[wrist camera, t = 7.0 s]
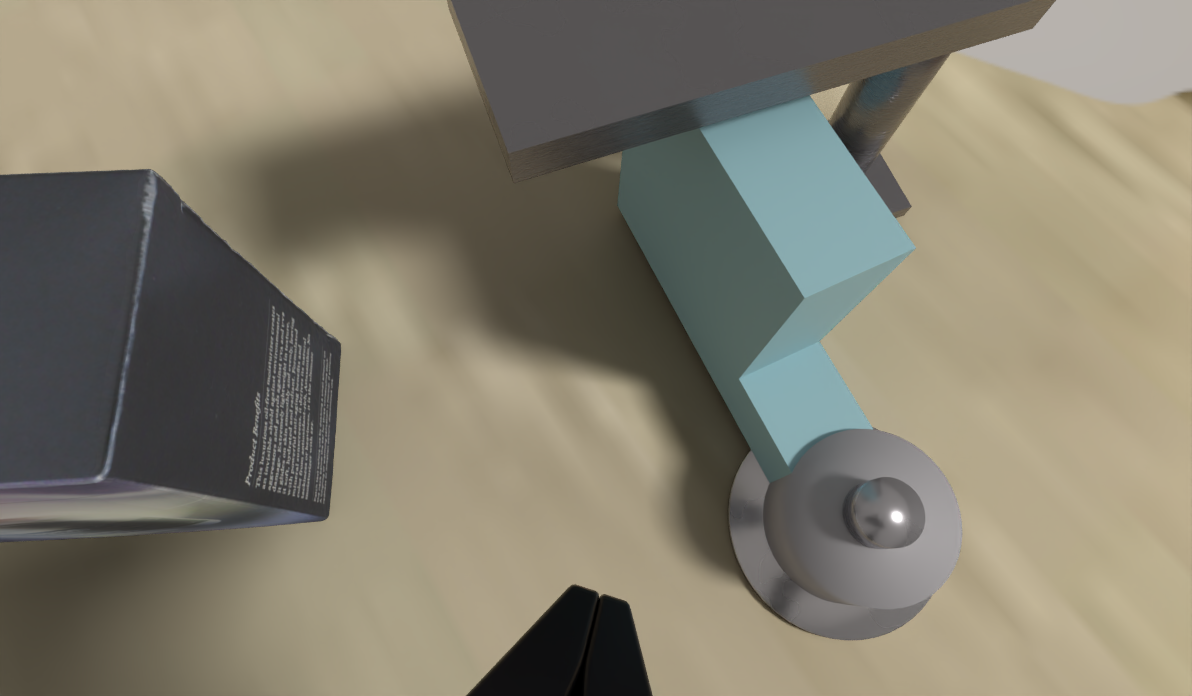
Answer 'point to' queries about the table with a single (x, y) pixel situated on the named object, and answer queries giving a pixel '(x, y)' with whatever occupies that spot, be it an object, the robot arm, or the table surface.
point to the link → (790, 331)
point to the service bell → (872, 517)
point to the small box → (150, 370)
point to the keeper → (710, 68)
